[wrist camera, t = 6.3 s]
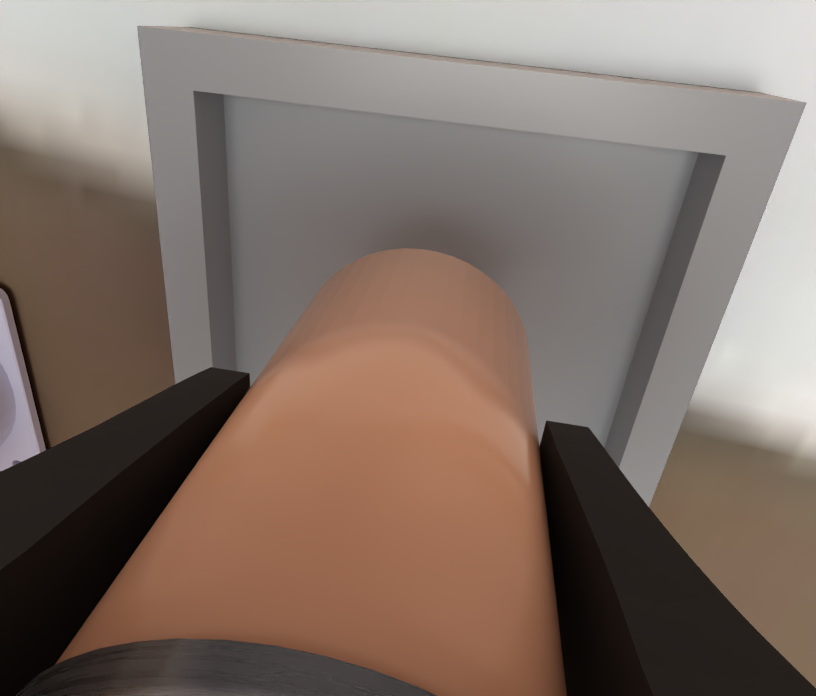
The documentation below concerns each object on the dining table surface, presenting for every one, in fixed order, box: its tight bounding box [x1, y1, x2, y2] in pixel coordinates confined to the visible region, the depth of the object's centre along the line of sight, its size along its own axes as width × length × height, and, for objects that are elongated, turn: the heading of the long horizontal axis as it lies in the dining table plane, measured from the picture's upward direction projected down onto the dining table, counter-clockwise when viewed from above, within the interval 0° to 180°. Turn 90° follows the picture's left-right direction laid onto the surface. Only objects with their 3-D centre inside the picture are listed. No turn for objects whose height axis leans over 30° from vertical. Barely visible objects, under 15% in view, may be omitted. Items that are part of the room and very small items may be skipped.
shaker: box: [16, 248, 567, 696], centre depth 7 cm, size 5×5×9 cm
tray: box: [137, 26, 806, 507], centre depth 17 cm, size 14×14×2 cm
